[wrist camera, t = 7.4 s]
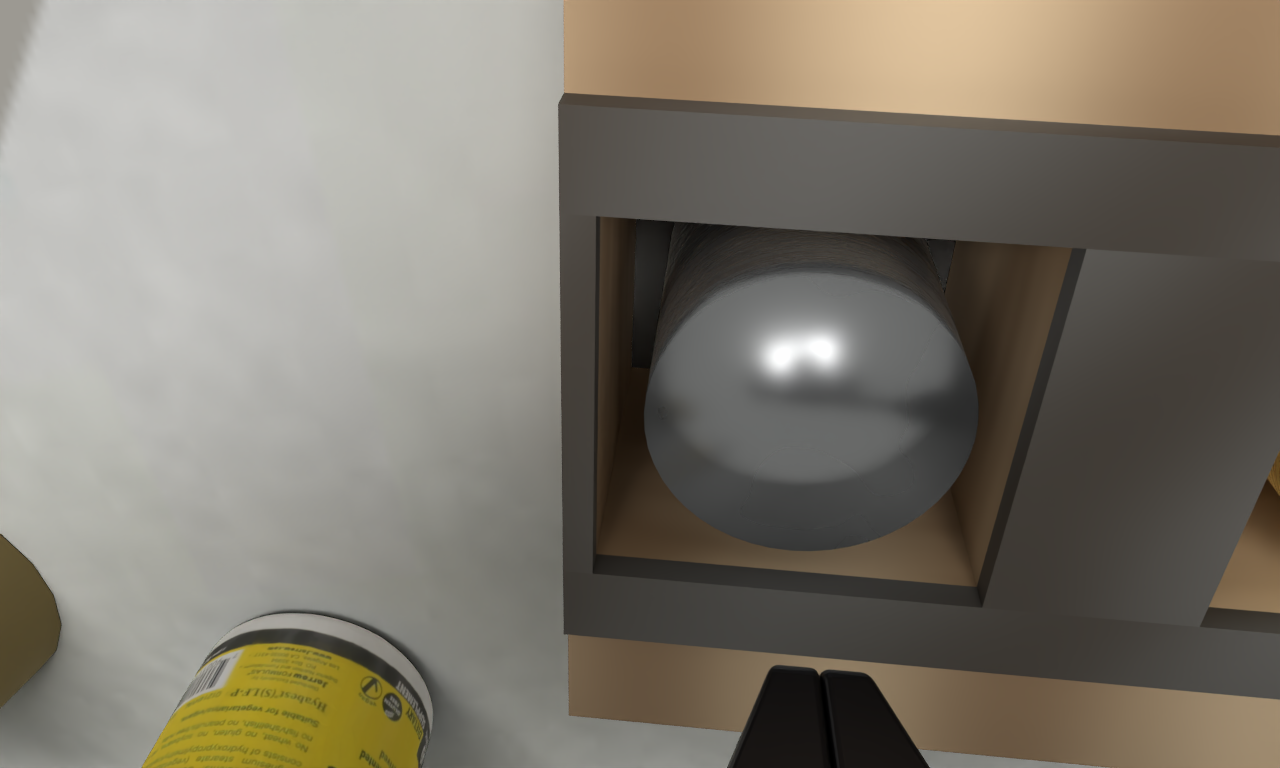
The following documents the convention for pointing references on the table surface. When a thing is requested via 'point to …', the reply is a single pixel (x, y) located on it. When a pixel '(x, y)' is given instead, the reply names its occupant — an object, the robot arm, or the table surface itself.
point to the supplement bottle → (299, 701)
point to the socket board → (995, 349)
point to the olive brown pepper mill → (23, 621)
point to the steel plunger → (806, 384)
